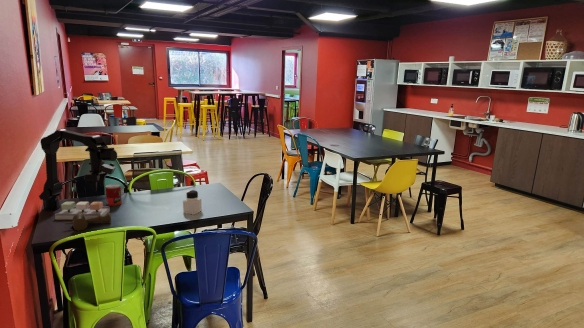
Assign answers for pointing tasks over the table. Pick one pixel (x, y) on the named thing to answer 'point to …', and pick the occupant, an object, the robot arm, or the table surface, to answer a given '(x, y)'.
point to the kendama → (81, 223)
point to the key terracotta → (96, 205)
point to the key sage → (68, 205)
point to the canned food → (113, 194)
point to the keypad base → (87, 213)
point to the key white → (82, 205)
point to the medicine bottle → (192, 203)
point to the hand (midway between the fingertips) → (98, 188)
